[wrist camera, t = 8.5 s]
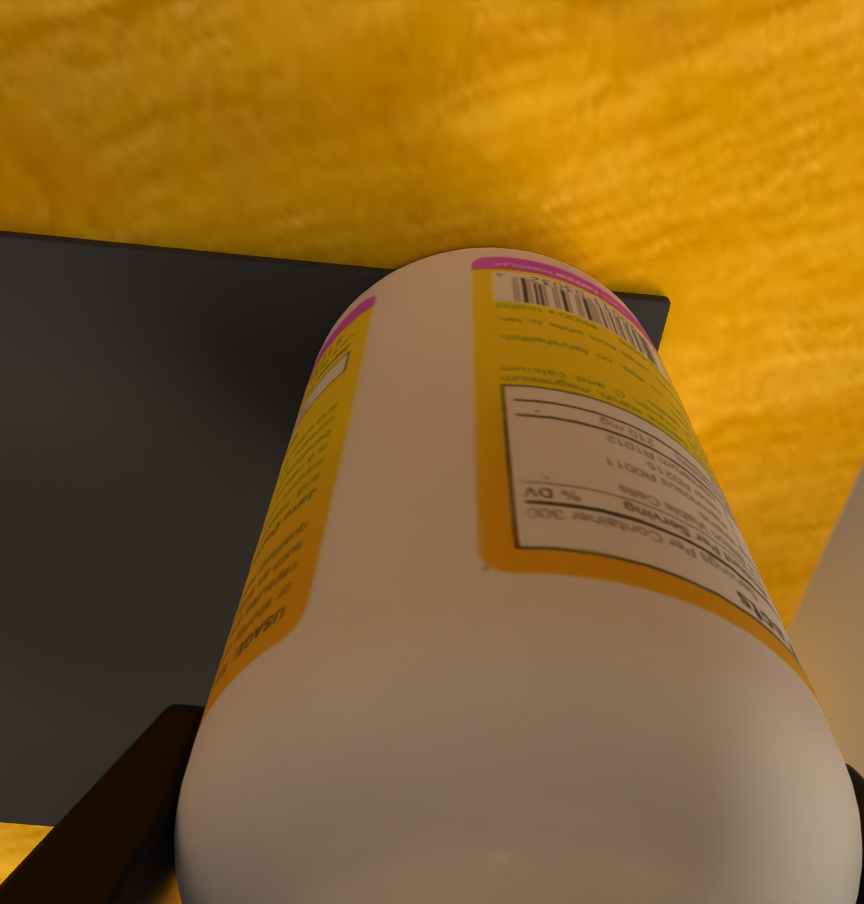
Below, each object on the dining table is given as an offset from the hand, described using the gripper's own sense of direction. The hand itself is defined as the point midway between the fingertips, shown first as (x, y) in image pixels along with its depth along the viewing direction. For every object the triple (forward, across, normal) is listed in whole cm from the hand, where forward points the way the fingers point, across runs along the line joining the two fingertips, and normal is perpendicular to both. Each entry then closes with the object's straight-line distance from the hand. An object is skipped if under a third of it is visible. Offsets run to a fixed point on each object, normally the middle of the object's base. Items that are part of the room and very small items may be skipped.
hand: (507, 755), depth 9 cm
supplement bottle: (+8, 0, 0) cm, 8 cm away
